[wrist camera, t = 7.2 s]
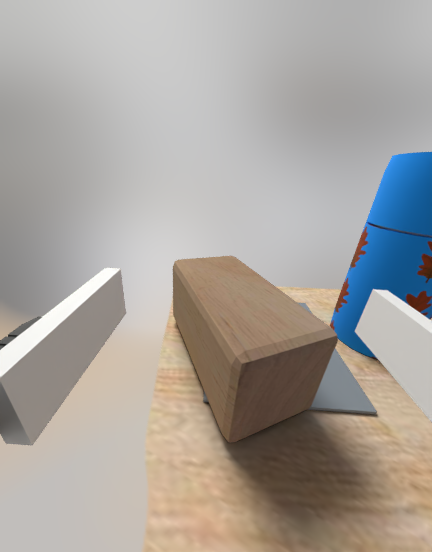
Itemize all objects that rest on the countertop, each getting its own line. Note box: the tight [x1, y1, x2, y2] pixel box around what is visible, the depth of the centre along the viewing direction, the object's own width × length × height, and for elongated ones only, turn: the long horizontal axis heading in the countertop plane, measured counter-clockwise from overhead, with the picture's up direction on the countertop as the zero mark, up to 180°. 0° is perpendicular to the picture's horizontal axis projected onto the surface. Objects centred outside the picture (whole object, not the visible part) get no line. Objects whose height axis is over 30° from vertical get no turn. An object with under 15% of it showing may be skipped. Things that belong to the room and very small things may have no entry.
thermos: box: [330, 152, 432, 359], centre depth 29 cm, size 11×11×25 cm
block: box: [173, 256, 338, 442], centre depth 26 cm, size 10×10×20 cm
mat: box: [203, 303, 377, 414], centre depth 32 cm, size 18×21×1 cm
